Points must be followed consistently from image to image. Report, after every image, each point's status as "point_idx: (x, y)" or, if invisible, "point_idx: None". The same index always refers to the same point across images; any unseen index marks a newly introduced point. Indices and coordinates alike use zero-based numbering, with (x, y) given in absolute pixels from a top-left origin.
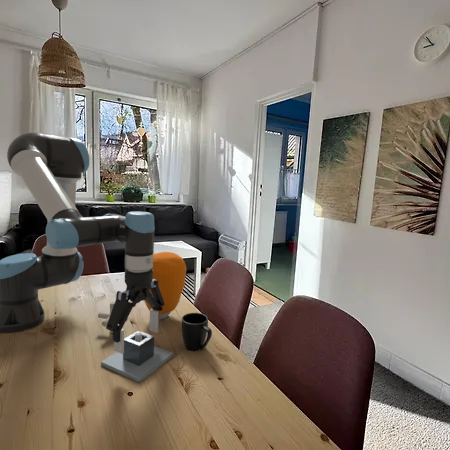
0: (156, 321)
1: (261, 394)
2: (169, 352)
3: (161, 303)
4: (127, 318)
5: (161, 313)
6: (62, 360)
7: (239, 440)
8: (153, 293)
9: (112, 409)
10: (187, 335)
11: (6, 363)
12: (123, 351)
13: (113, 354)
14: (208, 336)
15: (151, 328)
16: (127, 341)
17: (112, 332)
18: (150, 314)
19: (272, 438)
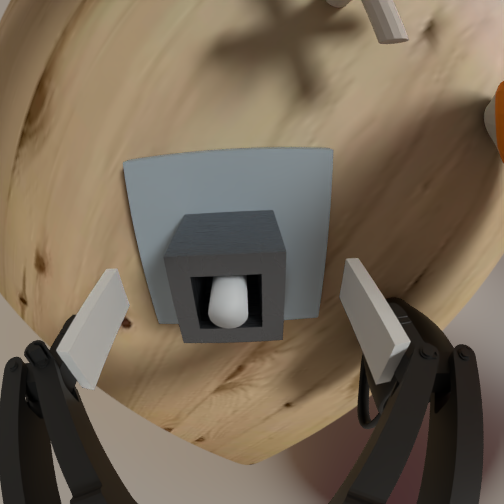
0: (357, 336)
1: (283, 437)
2: (316, 307)
3: (431, 402)
4: (402, 41)
5: (500, 153)
6: (75, 41)
7: (193, 441)
8: (445, 463)
9: None
10: (367, 367)
11: None
12: (125, 308)
13: (183, 155)
14: (358, 416)
15: (347, 277)
16: (170, 283)
17: (327, 1)
18: (380, 324)
19: (220, 452)
